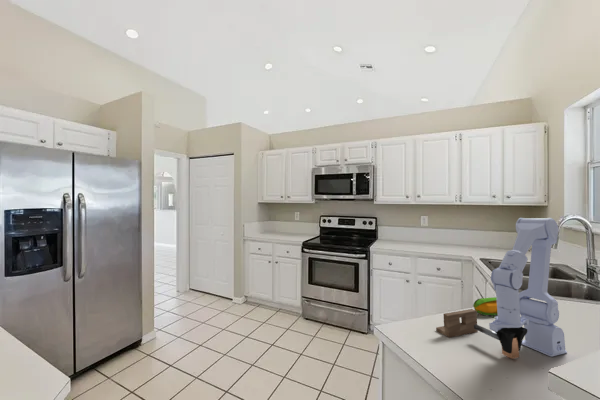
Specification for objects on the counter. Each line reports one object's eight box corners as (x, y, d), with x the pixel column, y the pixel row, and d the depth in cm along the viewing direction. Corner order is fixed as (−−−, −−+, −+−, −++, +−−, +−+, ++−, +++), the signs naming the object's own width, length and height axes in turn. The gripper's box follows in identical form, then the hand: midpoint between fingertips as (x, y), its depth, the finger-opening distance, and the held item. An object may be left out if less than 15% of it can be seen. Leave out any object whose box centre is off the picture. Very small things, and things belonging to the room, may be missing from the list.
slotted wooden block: (477, 331, 99) (476, 310, 99) (449, 337, 95) (447, 315, 95) (463, 325, 104) (462, 305, 105) (436, 330, 100) (435, 309, 101)
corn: (468, 295, 118) (505, 292, 121) (468, 312, 118) (505, 308, 121) (481, 302, 111) (521, 298, 114) (481, 319, 111) (521, 315, 114)
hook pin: (519, 357, 80) (517, 337, 80) (512, 358, 79) (510, 339, 79) (479, 338, 92) (478, 321, 92) (473, 339, 91) (472, 322, 92)
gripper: (511, 300, 87) (514, 341, 86) (479, 305, 83) (481, 348, 82) (535, 307, 80) (538, 351, 80) (501, 313, 76) (504, 360, 76)
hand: (511, 350), depth 80 cm, fingers closed on hook pin, 3 cm apart
